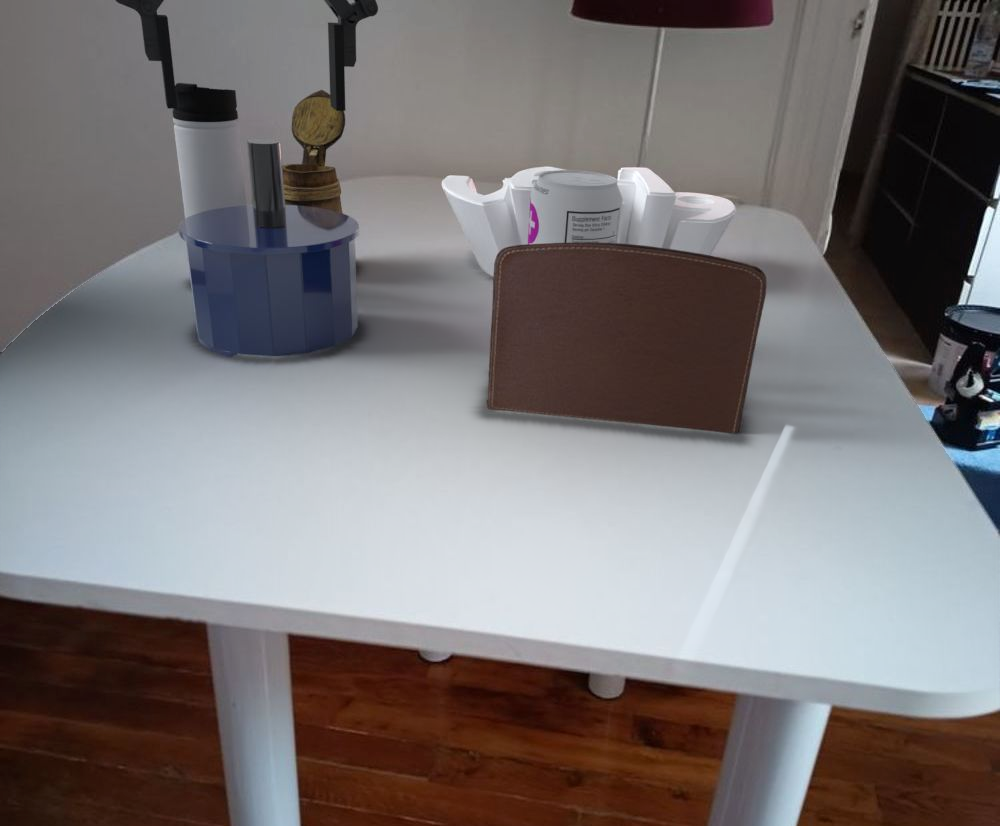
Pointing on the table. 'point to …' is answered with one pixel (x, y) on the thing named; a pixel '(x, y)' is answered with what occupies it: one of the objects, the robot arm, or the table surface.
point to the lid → (268, 216)
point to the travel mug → (208, 148)
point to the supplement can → (574, 208)
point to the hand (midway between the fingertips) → (257, 108)
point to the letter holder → (623, 334)
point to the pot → (273, 300)
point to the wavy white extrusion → (644, 218)
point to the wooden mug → (314, 154)
